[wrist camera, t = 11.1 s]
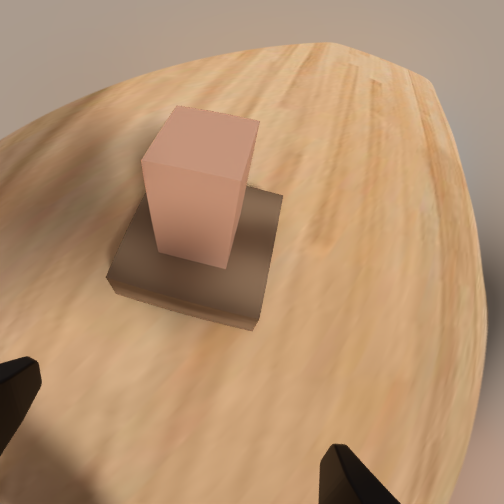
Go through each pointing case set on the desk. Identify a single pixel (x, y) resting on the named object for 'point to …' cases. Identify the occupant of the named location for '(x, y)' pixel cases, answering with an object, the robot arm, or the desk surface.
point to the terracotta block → (198, 182)
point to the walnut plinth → (202, 267)
